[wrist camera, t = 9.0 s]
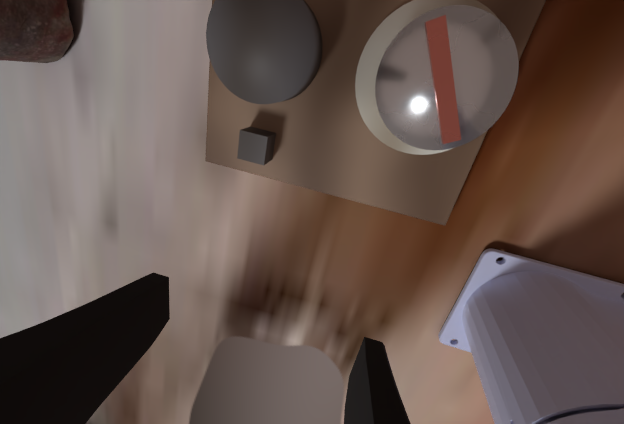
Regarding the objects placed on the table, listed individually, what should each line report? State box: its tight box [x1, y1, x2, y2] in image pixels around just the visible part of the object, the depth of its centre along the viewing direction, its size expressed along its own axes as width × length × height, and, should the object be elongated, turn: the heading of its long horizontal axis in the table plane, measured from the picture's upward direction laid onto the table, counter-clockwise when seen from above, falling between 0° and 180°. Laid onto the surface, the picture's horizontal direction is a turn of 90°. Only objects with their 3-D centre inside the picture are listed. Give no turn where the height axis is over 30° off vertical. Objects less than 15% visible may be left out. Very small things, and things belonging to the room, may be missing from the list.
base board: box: [206, 0, 546, 225], centre depth 15 cm, size 15×14×3 cm
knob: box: [375, 5, 519, 150], centre depth 12 cm, size 5×5×5 cm
